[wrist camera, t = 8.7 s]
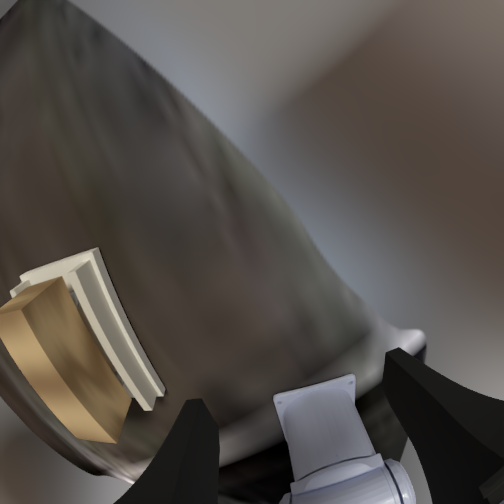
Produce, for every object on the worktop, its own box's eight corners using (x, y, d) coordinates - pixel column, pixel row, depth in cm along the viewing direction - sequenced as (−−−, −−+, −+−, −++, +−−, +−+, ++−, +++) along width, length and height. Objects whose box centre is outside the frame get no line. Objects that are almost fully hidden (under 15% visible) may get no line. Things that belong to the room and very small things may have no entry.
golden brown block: (131, 399, 19) (116, 443, 14) (94, 399, 19) (76, 438, 14) (62, 275, 15) (20, 309, 11) (27, 286, 15) (-11, 317, 11)
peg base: (165, 388, 22) (159, 413, 19) (91, 391, 22) (81, 411, 19) (98, 247, 17) (76, 262, 14) (25, 272, 18) (5, 286, 14)
